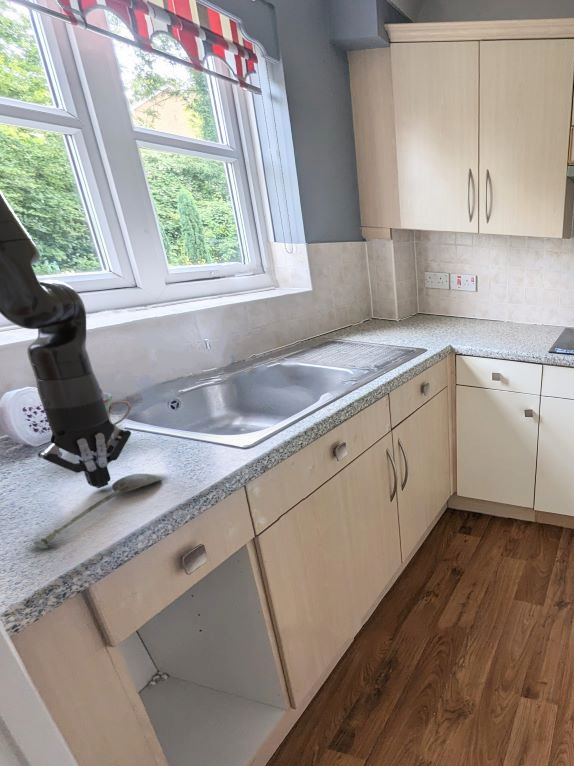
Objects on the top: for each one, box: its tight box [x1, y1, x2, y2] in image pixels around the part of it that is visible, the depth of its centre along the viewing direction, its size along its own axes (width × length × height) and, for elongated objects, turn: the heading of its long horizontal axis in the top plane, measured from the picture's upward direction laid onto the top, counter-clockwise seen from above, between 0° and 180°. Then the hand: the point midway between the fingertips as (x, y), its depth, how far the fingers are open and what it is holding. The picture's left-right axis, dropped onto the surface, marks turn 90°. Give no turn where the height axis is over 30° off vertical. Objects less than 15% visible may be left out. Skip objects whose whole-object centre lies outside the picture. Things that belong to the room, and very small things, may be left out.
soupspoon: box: [33, 473, 162, 550], centre depth 79 cm, size 22×3×7 cm
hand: (100, 485), depth 85 cm, fingers closed
